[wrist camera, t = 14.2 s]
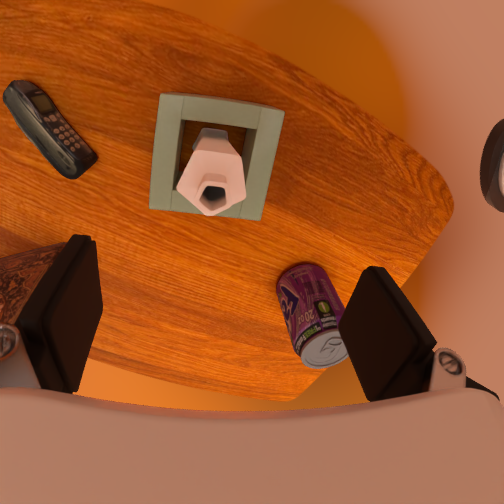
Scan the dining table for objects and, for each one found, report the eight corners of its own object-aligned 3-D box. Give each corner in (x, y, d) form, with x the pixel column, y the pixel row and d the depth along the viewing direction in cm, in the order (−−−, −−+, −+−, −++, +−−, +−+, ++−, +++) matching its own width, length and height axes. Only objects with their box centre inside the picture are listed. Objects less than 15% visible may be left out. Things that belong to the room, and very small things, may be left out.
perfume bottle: (222, 173, 31) (232, 246, 18) (184, 156, 30) (164, 217, 17) (243, 135, 29) (271, 181, 17) (205, 116, 28) (199, 146, 15)
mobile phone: (87, 168, 24) (0, 69, 16) (69, 189, 25) (-15, 93, 17) (103, 154, 28) (25, 67, 20) (86, 172, 29) (10, 88, 21)
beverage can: (290, 254, 38) (318, 322, 27) (335, 268, 40) (372, 332, 30) (266, 297, 41) (285, 368, 31) (310, 307, 43) (337, 373, 33)
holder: (271, 105, 28) (285, 111, 23) (252, 197, 33) (260, 221, 28) (169, 91, 26) (160, 93, 21) (158, 186, 31) (148, 209, 26)
